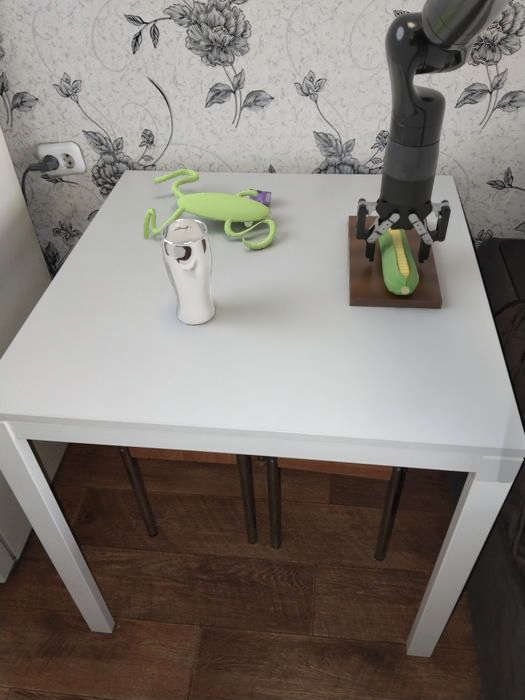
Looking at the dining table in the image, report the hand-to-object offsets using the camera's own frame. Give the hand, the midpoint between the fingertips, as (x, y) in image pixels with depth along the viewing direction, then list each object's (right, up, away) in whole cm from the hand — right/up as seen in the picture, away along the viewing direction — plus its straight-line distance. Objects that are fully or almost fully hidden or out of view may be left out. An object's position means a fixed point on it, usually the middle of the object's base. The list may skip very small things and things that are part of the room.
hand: (395, 259), depth 96 cm
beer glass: (-32, -9, -4) cm, 34 cm away
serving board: (0, 0, +4) cm, 4 cm away
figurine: (-32, +10, +16) cm, 37 cm away
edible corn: (0, -1, +1) cm, 1 cm away
